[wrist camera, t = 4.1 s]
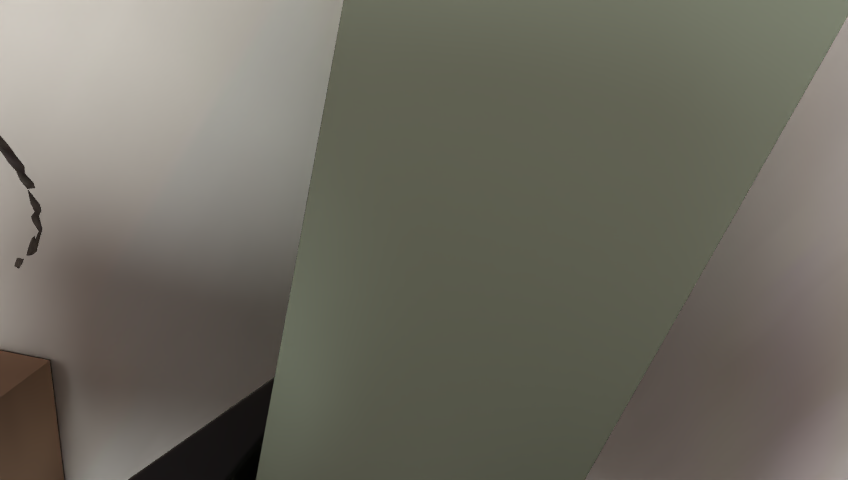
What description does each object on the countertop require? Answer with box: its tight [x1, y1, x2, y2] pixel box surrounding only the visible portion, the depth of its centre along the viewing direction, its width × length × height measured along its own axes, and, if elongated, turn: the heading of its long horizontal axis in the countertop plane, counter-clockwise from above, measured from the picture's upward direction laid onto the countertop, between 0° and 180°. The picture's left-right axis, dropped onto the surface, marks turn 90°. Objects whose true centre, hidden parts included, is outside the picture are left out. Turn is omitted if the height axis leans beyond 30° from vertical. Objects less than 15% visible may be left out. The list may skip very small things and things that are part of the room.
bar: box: [256, 0, 848, 480], centre depth 8 cm, size 18×4×4 cm, turn 165°
